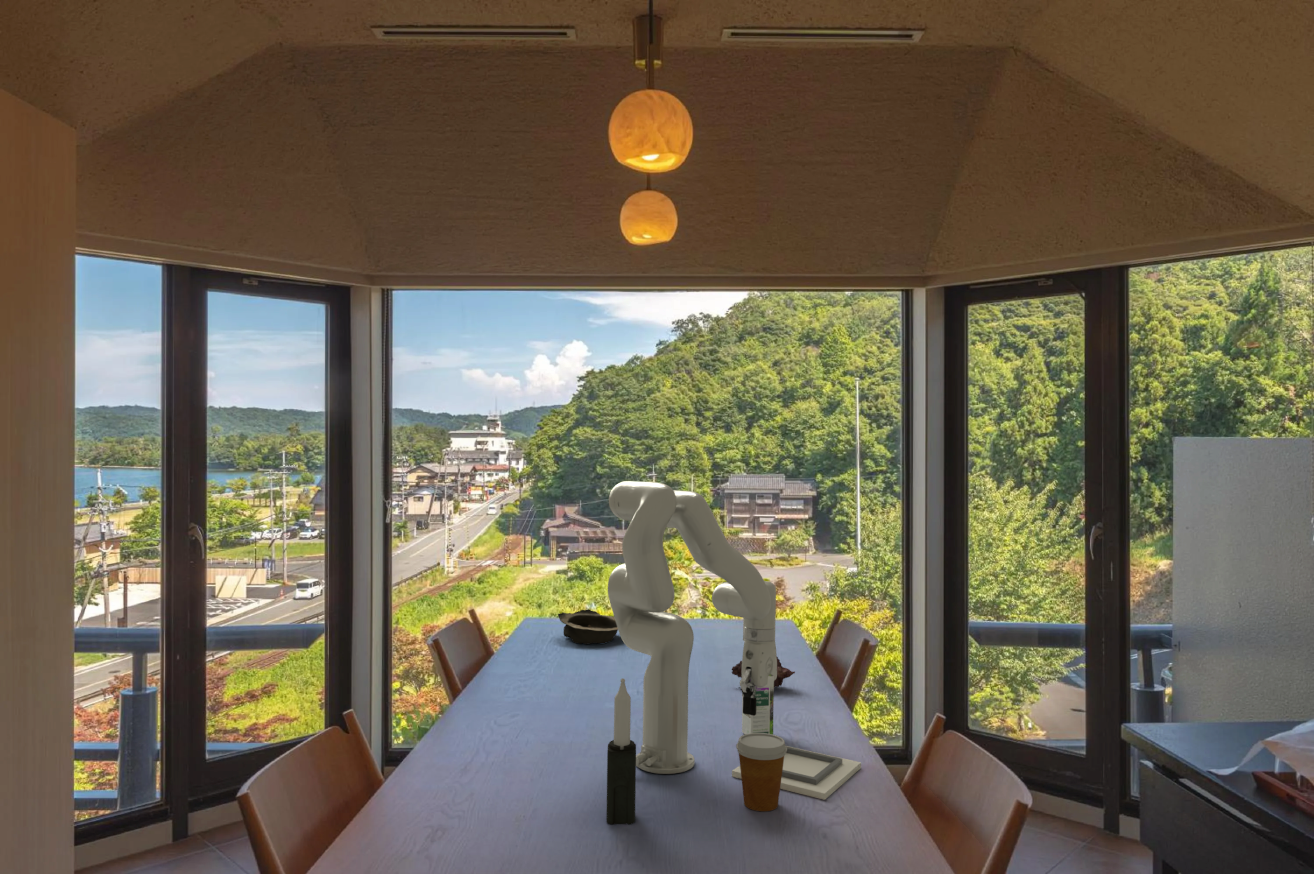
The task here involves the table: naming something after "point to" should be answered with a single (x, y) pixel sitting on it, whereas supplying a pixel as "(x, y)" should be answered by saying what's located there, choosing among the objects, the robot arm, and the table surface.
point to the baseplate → (813, 772)
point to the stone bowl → (588, 627)
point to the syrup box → (760, 710)
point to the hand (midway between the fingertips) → (757, 709)
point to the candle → (621, 764)
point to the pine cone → (781, 672)
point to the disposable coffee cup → (761, 769)
